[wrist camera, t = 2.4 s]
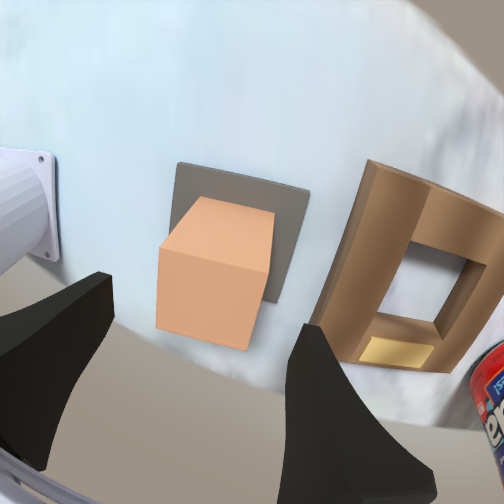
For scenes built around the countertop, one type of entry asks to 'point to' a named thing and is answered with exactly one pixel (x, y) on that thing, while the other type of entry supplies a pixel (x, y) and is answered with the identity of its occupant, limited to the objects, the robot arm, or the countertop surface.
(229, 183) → the pad
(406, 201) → the socket block
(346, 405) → the robot arm
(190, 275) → the peg
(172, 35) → the countertop surface
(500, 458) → the soda can
